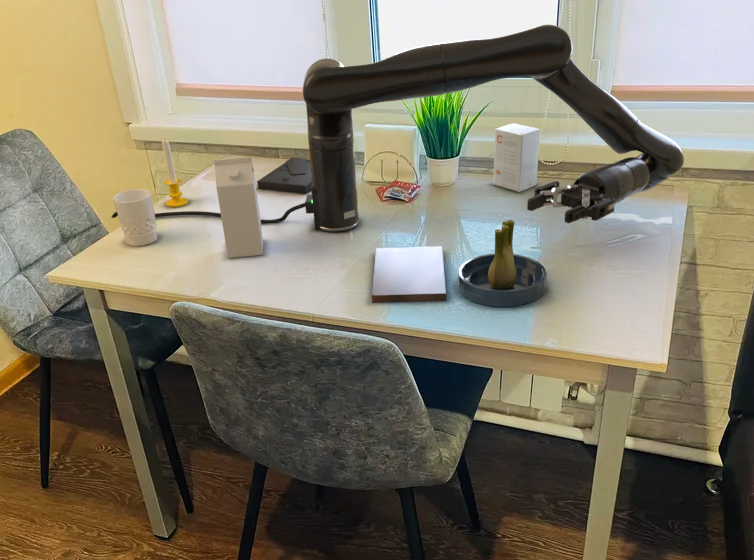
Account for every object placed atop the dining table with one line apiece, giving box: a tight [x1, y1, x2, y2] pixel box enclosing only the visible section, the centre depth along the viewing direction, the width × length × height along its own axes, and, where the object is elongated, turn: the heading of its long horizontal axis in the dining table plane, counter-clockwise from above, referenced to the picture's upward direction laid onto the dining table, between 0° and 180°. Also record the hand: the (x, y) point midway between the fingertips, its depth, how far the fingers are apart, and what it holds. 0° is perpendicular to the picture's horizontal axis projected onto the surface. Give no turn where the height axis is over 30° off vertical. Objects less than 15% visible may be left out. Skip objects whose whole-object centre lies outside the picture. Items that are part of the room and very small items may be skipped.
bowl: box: [457, 253, 548, 307], centre depth 139 cm, size 15×15×3 cm
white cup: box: [112, 188, 159, 247], centre depth 166 cm, size 8×8×10 cm
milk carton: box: [213, 156, 264, 259], centre depth 156 cm, size 7×7×19 cm
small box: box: [492, 122, 541, 193], centre depth 179 cm, size 8×6×13 cm
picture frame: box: [256, 157, 312, 195], centre depth 194 cm, size 13×2×18 cm
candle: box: [161, 138, 189, 208], centre depth 182 cm, size 5×5×16 cm
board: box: [371, 245, 447, 304], centre depth 146 cm, size 13×20×2 cm, turn 176°
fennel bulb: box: [488, 219, 517, 289], centre depth 137 cm, size 6×5×12 cm
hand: (547, 211), depth 139 cm, fingers open, 8 cm apart
